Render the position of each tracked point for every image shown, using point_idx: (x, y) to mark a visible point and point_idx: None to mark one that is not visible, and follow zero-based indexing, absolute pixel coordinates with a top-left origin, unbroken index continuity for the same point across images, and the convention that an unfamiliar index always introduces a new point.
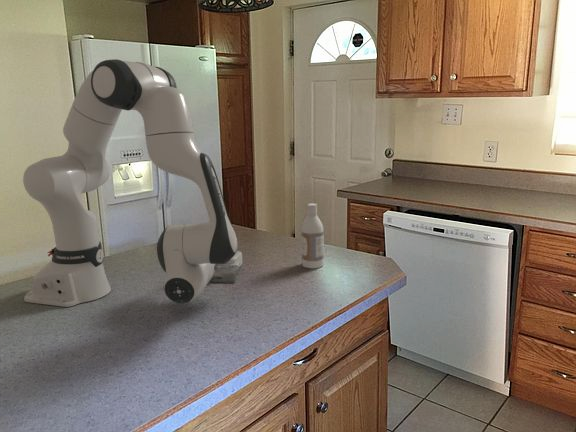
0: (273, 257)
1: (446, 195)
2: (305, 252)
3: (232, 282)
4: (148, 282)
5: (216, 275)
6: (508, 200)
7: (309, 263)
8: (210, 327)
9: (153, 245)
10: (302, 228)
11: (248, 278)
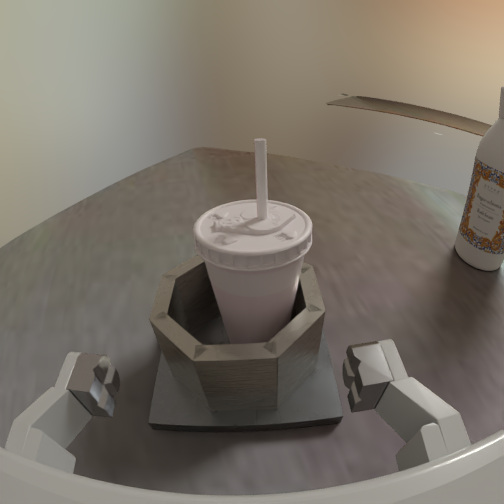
0: (361, 228)
1: (433, 116)
2: (492, 230)
3: (329, 423)
4: (4, 408)
5: (248, 404)
6: (486, 129)
7: (492, 259)
8: None
9: (61, 212)
10: (495, 158)
11: None
